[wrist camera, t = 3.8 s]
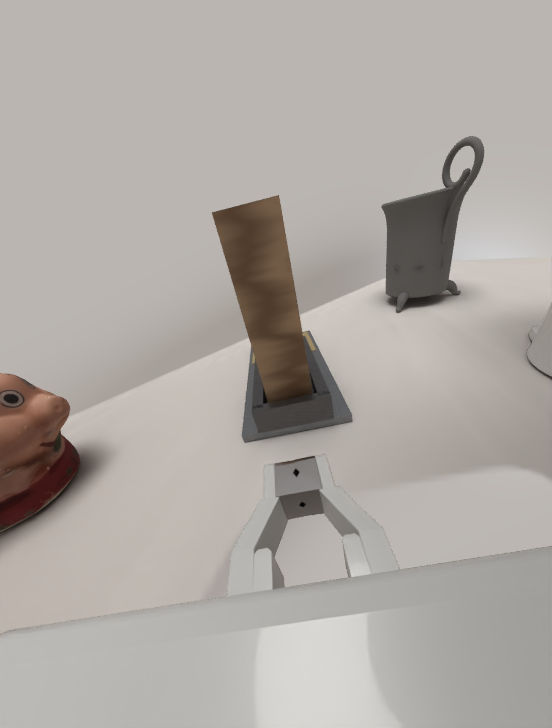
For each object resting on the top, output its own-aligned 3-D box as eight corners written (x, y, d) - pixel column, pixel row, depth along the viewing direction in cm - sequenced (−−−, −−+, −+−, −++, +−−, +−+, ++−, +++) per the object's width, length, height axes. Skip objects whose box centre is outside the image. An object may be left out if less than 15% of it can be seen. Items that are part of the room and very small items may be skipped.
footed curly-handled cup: (362, 300, 58) (359, 178, 46) (415, 285, 59) (425, 162, 47) (419, 321, 41) (437, 138, 29) (490, 300, 43) (534, 117, 31)
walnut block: (306, 378, 31) (274, 205, 22) (315, 407, 26) (278, 195, 16) (270, 386, 32) (224, 218, 22) (272, 415, 26) (211, 212, 17)
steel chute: (310, 335, 46) (307, 316, 45) (352, 422, 25) (350, 392, 23) (252, 347, 47) (247, 329, 45) (244, 443, 25) (233, 416, 23)
